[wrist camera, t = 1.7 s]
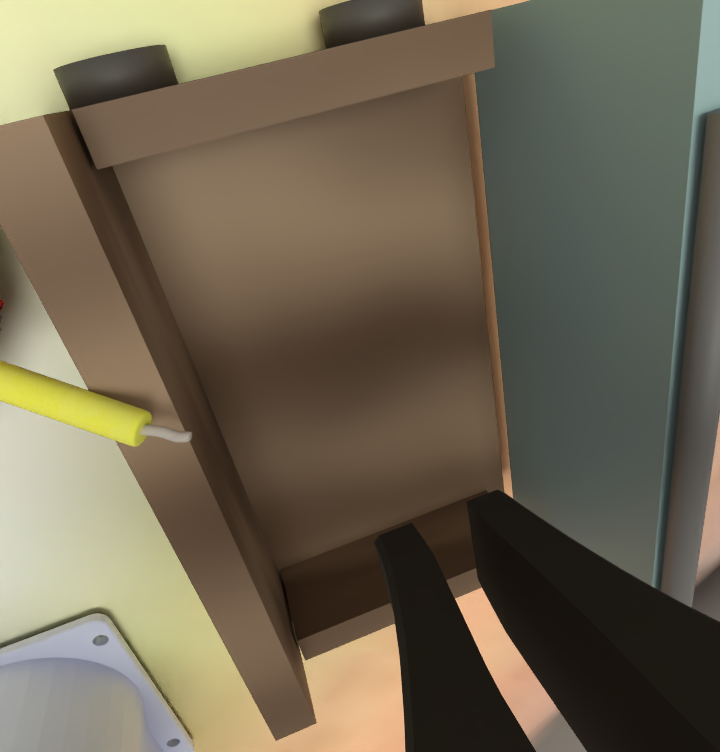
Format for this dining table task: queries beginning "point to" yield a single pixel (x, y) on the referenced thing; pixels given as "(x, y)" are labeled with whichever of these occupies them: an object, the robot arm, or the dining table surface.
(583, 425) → the panel
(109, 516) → the dining table surface
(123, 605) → the dining table surface
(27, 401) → the cupcake
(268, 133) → the cart bed
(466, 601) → the dining table surface
